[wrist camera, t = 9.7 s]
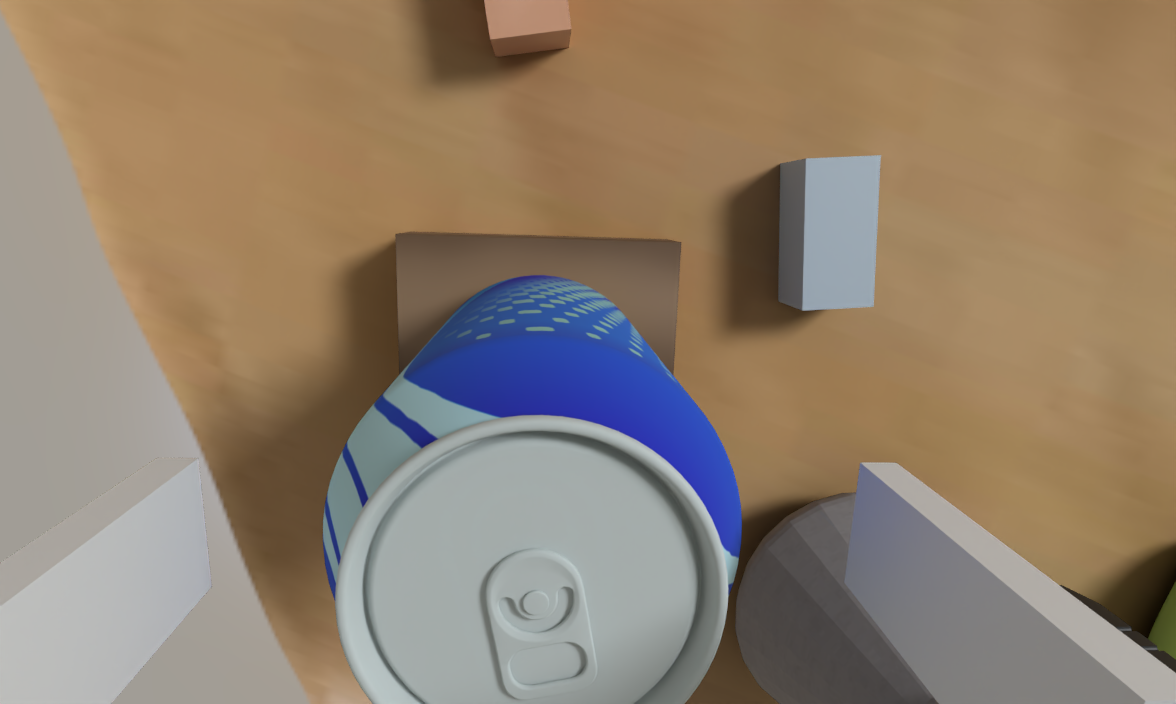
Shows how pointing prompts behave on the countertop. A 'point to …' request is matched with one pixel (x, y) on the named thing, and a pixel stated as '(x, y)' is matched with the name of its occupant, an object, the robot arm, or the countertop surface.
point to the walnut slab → (476, 261)
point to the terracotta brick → (527, 25)
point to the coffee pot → (816, 618)
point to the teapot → (1166, 626)
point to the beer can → (532, 514)
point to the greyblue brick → (828, 232)
